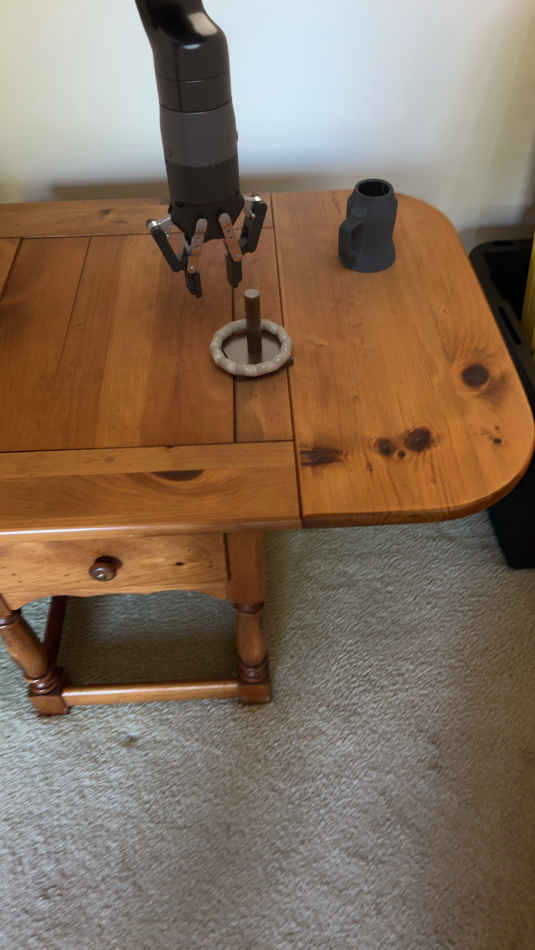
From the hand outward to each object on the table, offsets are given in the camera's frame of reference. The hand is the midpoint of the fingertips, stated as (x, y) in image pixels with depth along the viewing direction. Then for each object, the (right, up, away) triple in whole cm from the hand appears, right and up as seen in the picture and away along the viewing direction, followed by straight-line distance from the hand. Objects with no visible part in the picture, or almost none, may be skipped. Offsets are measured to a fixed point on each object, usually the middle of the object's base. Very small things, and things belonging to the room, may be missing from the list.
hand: (214, 288), depth 80 cm
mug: (+21, +11, +24) cm, 34 cm away
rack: (+5, -6, +11) cm, 13 cm away
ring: (+4, -5, +9) cm, 11 cm away
